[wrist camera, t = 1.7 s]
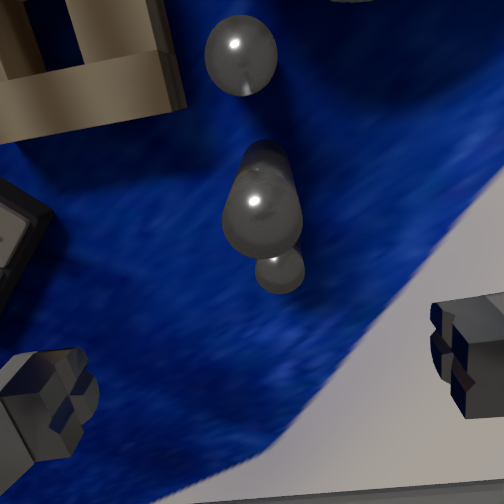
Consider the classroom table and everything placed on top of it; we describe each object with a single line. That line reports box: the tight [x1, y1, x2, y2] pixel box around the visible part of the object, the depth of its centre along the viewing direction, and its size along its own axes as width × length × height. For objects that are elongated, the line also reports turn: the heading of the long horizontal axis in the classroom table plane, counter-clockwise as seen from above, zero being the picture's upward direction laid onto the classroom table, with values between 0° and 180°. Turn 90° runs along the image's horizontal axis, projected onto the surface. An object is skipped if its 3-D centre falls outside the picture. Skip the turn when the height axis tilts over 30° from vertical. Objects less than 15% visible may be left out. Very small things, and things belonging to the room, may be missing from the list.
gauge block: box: [0, 0, 187, 144], centre depth 25 cm, size 14×12×5 cm
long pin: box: [222, 139, 303, 259], centre depth 24 cm, size 4×4×14 cm
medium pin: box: [205, 15, 277, 96], centre depth 24 cm, size 4×4×9 cm
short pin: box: [255, 238, 305, 294], centre depth 31 cm, size 4×4×5 cm
